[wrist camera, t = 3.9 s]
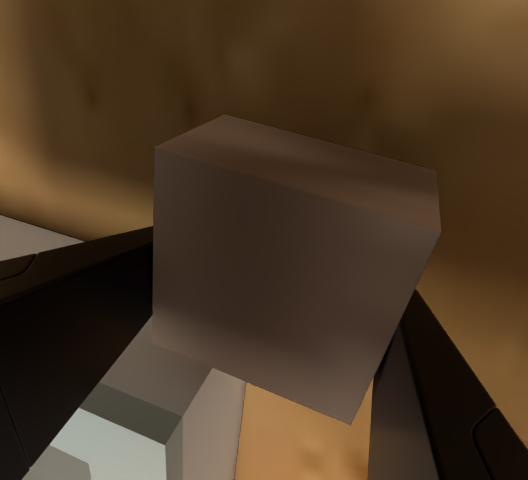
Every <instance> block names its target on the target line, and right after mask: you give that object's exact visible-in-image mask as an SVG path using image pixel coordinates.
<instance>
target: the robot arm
mask: <svg viewBox="0 0 528 480" xmlns="http://www.w3.org/2000/svg"><path fill="white" fill-rule="evenodd" d="M152 302H153V226H151V227H147V228H142V229H138V230H134V231H129V232H125V233H121V234H116V235H112V236H108V237H103V238H99V239H95V240H90V241H86V242H82V243H77V244H73V245H69V246H64V247H60V248H56V249H51V250H47V251H43V252H39V253H38V254H35V253H34V254H29V255H25V256H21V257H16V258H12V259H7V260H2V261H0V480H22V479H23V478H24V476H25V475H26V474H27V473H28V471H29V470H30V467H32V466H33V465H34V463H35V462H36V461H37V460H38V458H39V457H40V456H41V455H42V453H43V452H44V451H45V450H46V448H47V447H48V446H49V445H50V443H51V442H52V441H53V440H54V438H55V437H56V436H57V435H58V433H59V432H60V431H61V430H62V428H63V427H64V426H65V424H66V423H67V422H68V421H69V419H70V418H71V417H72V416H73V414H74V413H75V412H76V411H77V409H78V408H79V407H80V406H81V404H82V403H83V402H84V401H85V399H86V398H87V397H88V396H89V394H90V393H91V392H92V391H93V389H94V388H95V387H96V386H97V384H98V383H99V382H100V381H101V379H102V378H103V377H104V375H105V374H106V373H107V372H108V370H109V369H110V368H111V367H112V365H113V364H114V363H115V362H116V360H117V359H118V358H119V357H120V355H121V354H122V353H123V352H124V350H125V349H126V348H127V347H128V345H129V344H130V343H131V342H132V340H133V339H134V338H135V337H136V335H137V334H138V333H139V332H140V330H141V329H142V328H143V327H144V325H145V324H146V323H147V321H148V320H149V319H150V318H151V316H152V315H153V309H152ZM367 480H528V449H527V447H526V446H525V445H524V443H523V442H522V441H521V439H520V438H519V436H518V435H517V434H516V432H515V431H514V430H513V428H512V427H511V425H510V424H509V422H508V421H507V420H506V418H505V417H504V415H503V414H502V412H501V411H500V410H499V409H498V408H496V404H495V402H494V401H493V400H492V398H491V397H490V395H489V394H488V392H487V391H486V389H485V388H484V386H483V385H482V384H481V382H480V381H479V379H478V378H477V376H476V375H475V373H474V372H473V371H472V369H471V368H470V366H469V365H468V363H467V362H466V360H465V359H464V358H463V356H462V355H461V353H460V352H459V350H458V349H457V347H456V346H455V344H454V343H453V342H452V340H451V339H450V337H449V336H448V334H447V333H446V331H445V330H444V329H443V327H442V326H441V324H440V323H439V321H438V320H437V318H436V317H435V315H434V314H433V313H432V311H431V310H430V308H429V307H428V305H427V304H426V302H425V301H424V300H423V298H422V297H421V295H420V294H419V292H418V291H417V290H416V289H415V290H414V292H413V294H412V296H411V298H410V300H409V302H408V304H407V307H406V309H405V311H404V313H403V315H402V317H401V319H400V322H399V323H398V325H397V328H396V330H395V332H394V334H393V336H392V339H391V341H390V343H389V345H388V347H387V349H386V351H385V354H384V356H383V358H382V360H381V362H380V364H379V366H378V369H377V371H376V373H375V375H374V380H373V392H372V409H371V427H370V444H369V462H368V479H367Z"/></svg>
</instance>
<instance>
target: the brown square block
mask: <svg viewBox="0 0 528 480" xmlns="http://www.w3.org/2000/svg"><path fill="white" fill-rule="evenodd" d="M440 234H441V221H440V208H439V196H438V184H437V172H436V170H433V169H429V168H425V167H421V166H418V165H414V164H410V163H406V162H403V161H399V160H395V159H391V158H387V157H384V156H380V155H376V154H372V153H369V152H365V151H361V150H357V149H354V148H350V147H346V146H342V145H339V144H335V143H331V142H327V141H323V140H320V139H316V138H312V137H308V136H305V135H301V134H297V133H293V132H290V131H286V130H282V129H278V128H274V127H271V126H267V125H263V124H259V123H256V122H252V121H248V120H244V119H241V118H237V117H233V116H229V115H225V114H224V115H222V116H220V117H218V118H216V119H214V120H211V121H209V122H207V123H205V124H203V125H201V126H198V127H196V128H194V129H192V130H190V131H188V132H185V133H183V134H181V135H179V136H177V137H175V138H172V139H170V140H168V141H166V142H164V143H162V144H159V145H157V146H155V147H154V218H153V302H152V309H153V315H152V343H154V344H156V345H159V346H161V347H164V348H166V349H168V350H171V351H173V352H176V353H178V354H180V355H183V356H185V357H188V358H190V359H192V360H195V361H197V362H200V363H202V364H204V365H207V366H209V367H212V368H214V369H216V370H219V371H221V372H224V373H226V374H228V375H231V376H233V377H236V378H238V379H240V380H243V381H245V382H248V383H250V384H253V385H255V386H257V387H260V388H262V389H265V390H267V391H269V392H272V393H274V394H277V395H279V396H281V397H284V398H286V399H289V400H291V401H293V402H296V403H298V404H301V405H303V406H305V407H308V408H310V409H313V410H315V411H317V412H320V413H322V414H325V415H327V416H329V417H332V418H334V419H337V420H339V421H341V422H344V423H346V424H349V425H351V424H352V422H353V420H354V418H355V415H356V413H357V411H358V409H359V407H360V405H361V403H362V401H363V398H364V396H365V394H366V392H367V390H368V388H369V386H370V383H371V381H372V379H373V377H374V375H375V373H376V371H377V369H378V366H379V364H380V362H381V360H382V358H383V356H384V354H385V351H386V349H387V347H388V345H389V343H390V341H391V339H392V336H393V334H394V332H395V330H396V328H397V325H398V323H399V322H400V319H401V317H402V315H403V313H404V311H405V309H406V307H407V304H408V302H409V300H410V298H411V296H412V294H413V292H414V290H415V287H416V285H417V283H418V281H419V279H420V277H421V275H422V272H423V270H424V268H425V266H426V264H427V262H428V260H429V257H430V255H431V253H432V251H433V249H434V247H435V245H436V243H437V240H438V238H439V236H440Z"/></svg>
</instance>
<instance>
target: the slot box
mask: <svg viewBox="0 0 528 480" xmlns="http://www.w3.org/2000/svg"><path fill="white" fill-rule="evenodd" d="M82 242H84V241H81V240H78V239H75V238H72V237H69V236H65V235H62V234H59V233H56V232H53V231H49V230H46V229H43V228H40V227H37V226H34V225H30V224H27V223H24V222H21V221H18V220H14V219H11V218H8V217H5V216H2V215H0V261H2V260H7V259H12V258H16V257H21V256H25V255H29V254H34V253H35V254H38V253H39V252H43V251H47V250H51V249H56V248H60V247H64V246H69V245H73V244H77V243H82ZM245 386H246V382H245V381H243V380H240V379H238V378H236V377H233V376H231V375H228V374H226V373H224V372H221V371H219V370H216V369H214V368H212V367H209V366H207V365H204V364H202V363H200V362H197V361H195V360H192V359H190V358H188V357H185V356H183V355H180V354H178V353H176V352H173V351H171V350H168V349H166V348H164V347H161V346H159V345H156V344H154V343H152V316H151V318H150V319H149V320H148V321H147V323H146V324H145V325H144V327H143V328H142V329H141V330H140V332H139V333H138V334H137V335H136V337H135V338H134V339H133V340H132V342H131V343H130V344H129V345H128V347H127V348H126V349H125V350H124V352H123V353H122V354H121V355H120V357H119V358H118V359H117V360H116V362H115V363H114V364H113V365H112V367H111V368H110V369H109V370H108V372H107V373H106V374H105V375H104V377H103V378H102V379H101V381H100V382H99V383H98V384H97V386H96V387H95V388H94V389H93V391H92V392H91V393H90V394H89V396H88V397H87V398H86V399H85V401H84V402H83V403H82V404H81V406H80V407H79V408H78V409H77V411H76V412H75V413H74V414H73V416H72V417H71V418H70V419H69V421H68V422H67V423H66V424H65V426H64V427H63V428H62V430H61V431H60V432H59V433H58V435H57V436H56V437H55V438H54V440H53V441H52V442H51V443H50V445H49V446H48V447H47V448H46V450H45V451H44V452H43V453H42V455H41V456H40V457H39V458H38V460H37V461H36V462H35V463H34V465H33V466H32V467H30V470H29V471H28V473H27V474H26V475H25V476H24V478H23V479H22V480H234V475H235V467H236V459H237V451H238V443H239V435H240V427H241V418H242V410H243V402H244V394H245Z"/></svg>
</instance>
